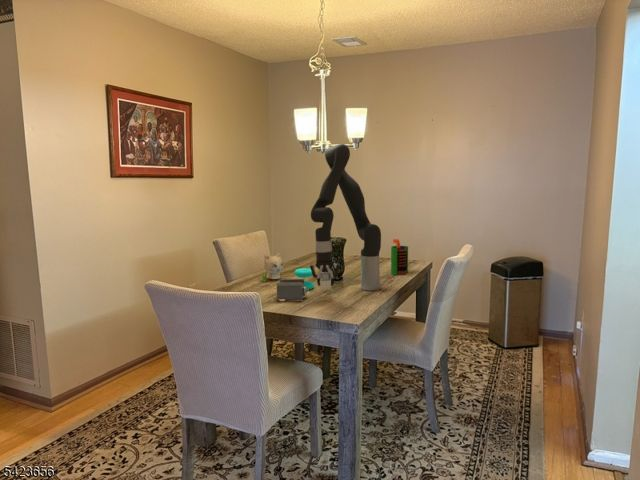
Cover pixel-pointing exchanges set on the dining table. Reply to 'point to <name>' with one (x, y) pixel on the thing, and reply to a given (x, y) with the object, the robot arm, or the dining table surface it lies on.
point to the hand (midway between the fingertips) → (325, 285)
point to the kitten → (273, 266)
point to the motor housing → (291, 289)
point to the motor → (399, 259)
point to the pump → (325, 281)
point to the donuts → (303, 274)
